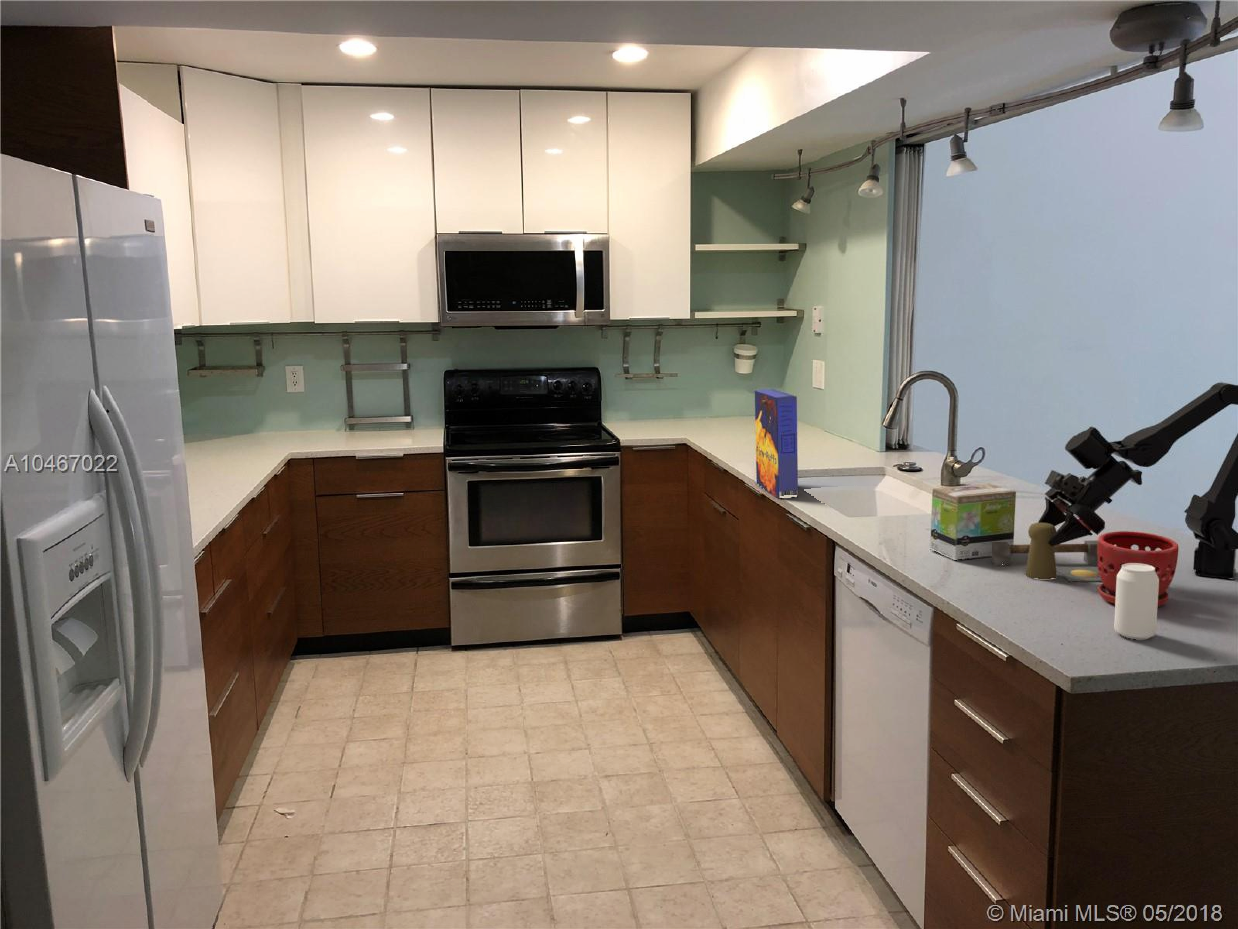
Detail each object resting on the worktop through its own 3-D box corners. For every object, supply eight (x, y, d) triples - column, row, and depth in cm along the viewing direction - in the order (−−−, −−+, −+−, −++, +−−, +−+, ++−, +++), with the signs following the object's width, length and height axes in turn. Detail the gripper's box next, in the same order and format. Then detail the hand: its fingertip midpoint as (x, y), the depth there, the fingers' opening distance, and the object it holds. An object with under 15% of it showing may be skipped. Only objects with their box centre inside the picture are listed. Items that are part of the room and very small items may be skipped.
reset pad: (1098, 568, 196) (1098, 566, 195) (1116, 581, 187) (1116, 579, 187) (1053, 569, 197) (1053, 567, 197) (1068, 582, 188) (1068, 580, 188)
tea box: (956, 562, 205) (957, 496, 202) (929, 551, 214) (930, 487, 211) (1015, 554, 208) (1017, 489, 206) (986, 543, 218) (987, 481, 215)
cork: (1038, 581, 189) (1040, 528, 187) (1018, 573, 195) (1019, 522, 193) (1063, 578, 191) (1065, 525, 189) (1043, 570, 196) (1044, 518, 194)
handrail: (1098, 560, 201) (1099, 540, 200) (1103, 564, 198) (1104, 544, 197) (991, 561, 204) (992, 542, 203) (995, 565, 201) (995, 545, 200)
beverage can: (1111, 638, 158) (1115, 569, 156) (1116, 626, 163) (1119, 560, 161) (1153, 644, 155) (1158, 574, 152) (1157, 632, 160) (1161, 564, 158)
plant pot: (1084, 604, 175) (1087, 541, 173) (1109, 586, 184) (1112, 527, 182) (1162, 618, 166) (1165, 553, 164) (1184, 599, 175) (1188, 537, 173)
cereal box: (756, 485, 295) (754, 389, 289) (774, 483, 296) (773, 388, 290) (778, 499, 273) (776, 396, 268) (798, 497, 274) (796, 395, 269)
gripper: (1057, 449, 197) (1000, 501, 200) (1090, 465, 179) (1028, 522, 182) (1094, 485, 197) (1037, 537, 200) (1132, 505, 179) (1068, 561, 182)
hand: (1041, 538), depth 191 cm, fingers open, 9 cm apart
